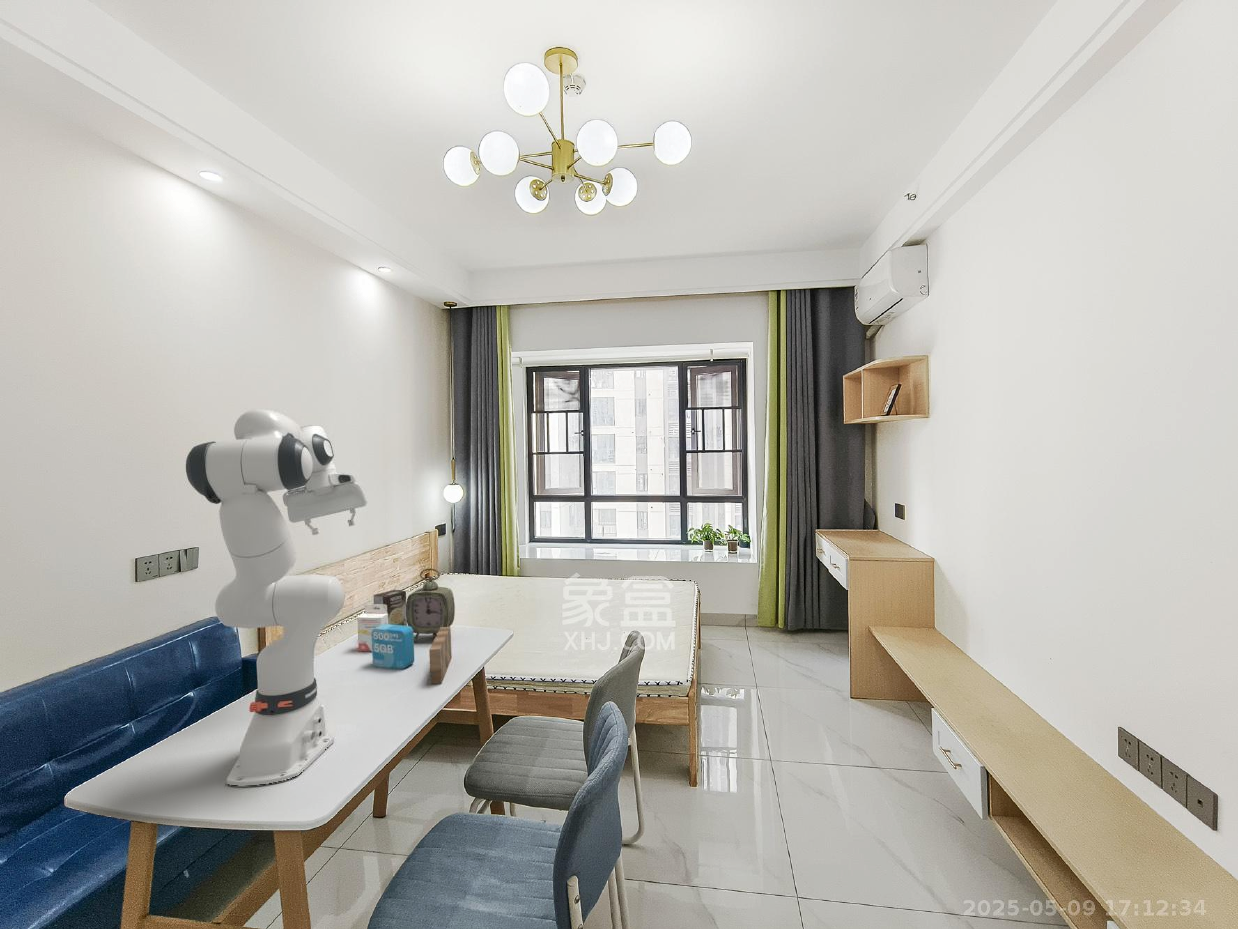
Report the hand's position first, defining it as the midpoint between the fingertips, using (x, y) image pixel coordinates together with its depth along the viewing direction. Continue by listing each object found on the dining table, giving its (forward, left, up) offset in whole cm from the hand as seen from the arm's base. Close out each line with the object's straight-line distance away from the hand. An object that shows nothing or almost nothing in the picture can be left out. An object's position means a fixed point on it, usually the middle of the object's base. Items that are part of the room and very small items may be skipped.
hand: (334, 530), depth 164 cm
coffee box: (+38, -5, -44) cm, 59 cm away
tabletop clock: (+33, -20, -44) cm, 59 cm away
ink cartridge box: (+27, -2, -44) cm, 52 cm away
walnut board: (+3, -27, -44) cm, 52 cm away
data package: (+11, -12, -45) cm, 47 cm away
